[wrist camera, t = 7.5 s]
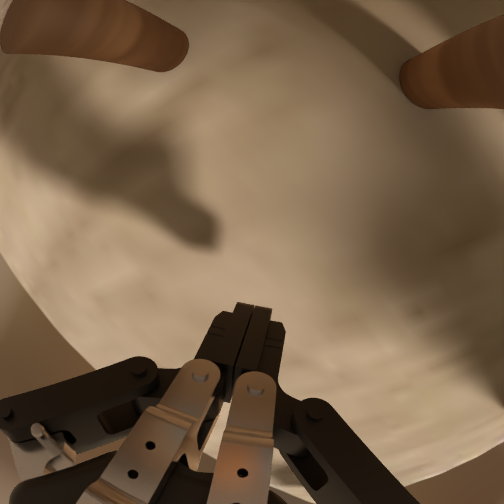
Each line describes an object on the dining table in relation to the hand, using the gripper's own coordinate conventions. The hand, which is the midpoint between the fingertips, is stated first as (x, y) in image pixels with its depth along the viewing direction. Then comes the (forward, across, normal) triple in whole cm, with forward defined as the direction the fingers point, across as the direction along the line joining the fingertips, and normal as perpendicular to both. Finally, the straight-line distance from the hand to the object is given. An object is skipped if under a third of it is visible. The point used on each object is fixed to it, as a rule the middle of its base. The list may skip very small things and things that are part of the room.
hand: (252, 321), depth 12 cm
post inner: (+4, -6, -12) cm, 14 cm away
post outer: (+4, +6, -12) cm, 14 cm away
